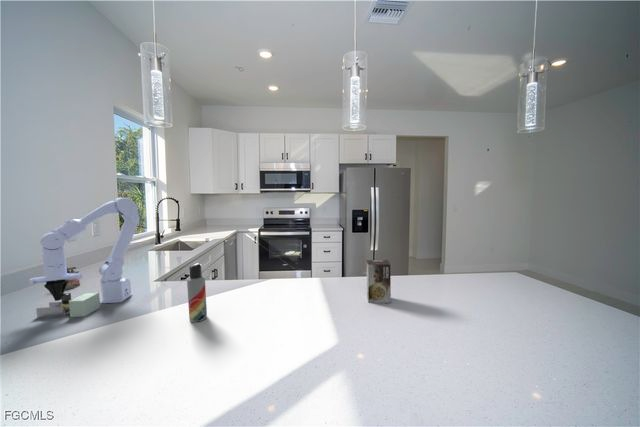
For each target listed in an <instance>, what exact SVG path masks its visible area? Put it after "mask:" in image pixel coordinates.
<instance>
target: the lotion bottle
mask: <svg viewBox="0 0 640 427" xmlns="http://www.w3.org/2000/svg"><path fill="white" fill-rule="evenodd" d="M188 269H189V277H187V280H186V282H187V283H186V284H187V285H186V287H187V299H188V300H187V301H188V302H187V303H188V318H189V321H190V322H191V321H192V322H191V323H199V322H198V321H200V322H203V321H204V319H205V318H206V319H207V317H208V311H207V310H208V309H207V308H208V307H207V295H206V294H207V292H206V289H207V288H206V277H205V276H204V275H203V273H202V272H203V271H202V264H200V263H195V264H192V265H190V266H189V268H188ZM206 319H205V320H206ZM202 320H203V321H202Z"/></svg>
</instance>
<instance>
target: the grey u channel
mask: <svg viewBox="0 0 640 427" xmlns="http://www.w3.org/2000/svg"><path fill="white" fill-rule="evenodd" d="M61 303H62V301H50V302H49V303H48V307H37V308H35V310H36V319H37V318H41V319H42V318H58V317H65V316H67V315H70V310H68V311H65V306H64V307H60V305H61Z"/></svg>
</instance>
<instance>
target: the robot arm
mask: <svg viewBox="0 0 640 427" xmlns="http://www.w3.org/2000/svg"><path fill="white" fill-rule="evenodd" d="M115 213H116V214H117V213H118V214H119V215H120V216H121V217H122V219H123V221H124V222H123V223H122V226H121V228H120V231H119V233H118V235H117V237H116V240H115V242H114V245H113V247H112V249H111V251H110V254H109V255H108V256H107V258H106V259H105V261H104V262H103V264H101V265H100V266H99V268H98V272H99V274H100V275H101V276H102V277H101V278H100V280H99V281H100V282H99V283H100V290H101V292H100V293H101V299H100V304H113V303H115V304H116V303H122V302H123V301H125V300H127V299H129V297H132V296H133V293H132V288H131V287H132V286H131V281H130V279H129V278H125V277H123V266H124V261H125V260H124V258H125V257H126V253H127V251H128V249H129V247H130V245H131V242H132V239H133V237H134V234H135V232H136V230H137V227H138V225H139V222H140V215H139V212H138V205H137V203H135V201H134V200H133V199H131V198H129V197H117V198H114V199H113V200H110V201H108V202H106V203H104V204H102V205H101V206H99V207H97V208H95V209H94V210H92V211H91V212H89V213H88V214H86V215H84V216H83V217H82V218H79V219H77V218H73V219H71V220H70V219H67V220H65V223H64V224H62V225H61V226H59V227H57V228H53V229H52V228H51V232H47V233H45V234H43V235H42V237H41V238H40V241H39V242H40V244H41V245H42V263H43V269H44V276H43V275H42V276H36V277H32V278H30V279H28V281H29V285H35V284H43V283H45V284H44V285H43V287H44V288H45V289H47V291H48V292H50V294H51V296H52V298H53V299H54V302H60V301H62V300H61V295H62V294H65V290H66V289H65V288H66V285H67V284H68V282H69V280H74V279H76V280H78V279H79V280H81V279H83V273H82V272H81V273H80V272H79V273H67V268H68V267H67V262H66V252H65V250H64V245H65V243H66V242H69V241H71V240H72V239H74V238H75V237H77V236H79V235H80V234H82V233H84V232H85V231H86V230H87V226H88V225H90V224H92V223H93V222H95V221H97V220H99V219H101V218H102V217H104V216H105V215H108V214H115ZM66 267H67V268H66Z"/></svg>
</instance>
